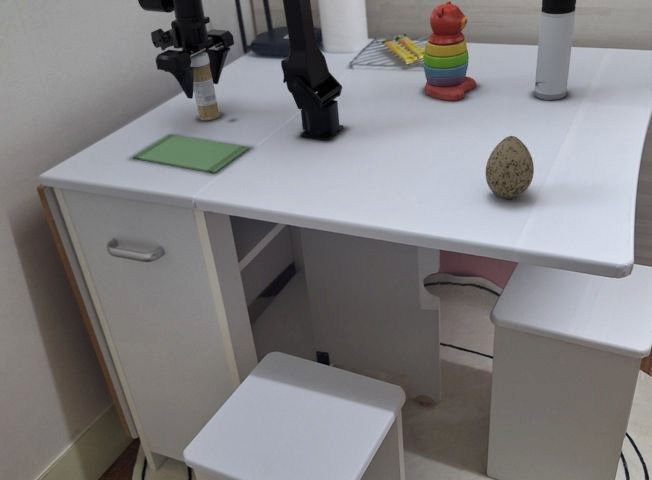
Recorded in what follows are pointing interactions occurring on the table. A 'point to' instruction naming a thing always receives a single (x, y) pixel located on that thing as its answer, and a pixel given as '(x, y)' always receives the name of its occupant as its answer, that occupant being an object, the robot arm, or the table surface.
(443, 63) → the stacking bear
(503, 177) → the decorative egg
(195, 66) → the sprinkles bottle
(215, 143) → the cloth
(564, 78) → the travel mug
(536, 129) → the table surface
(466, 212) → the table surface
